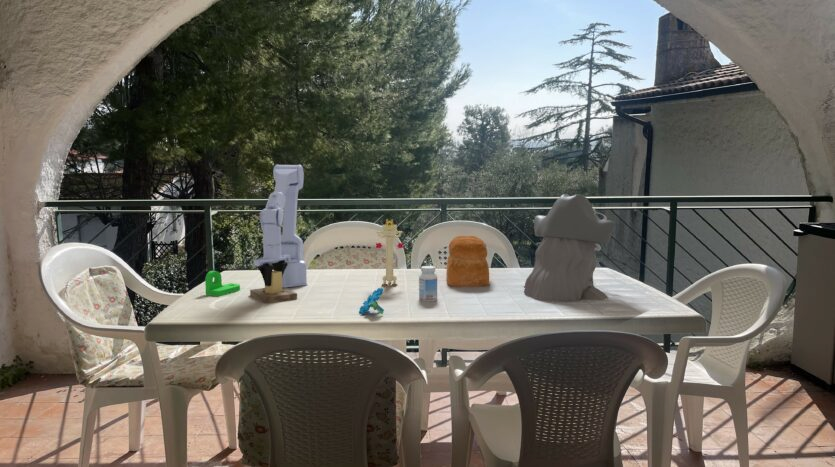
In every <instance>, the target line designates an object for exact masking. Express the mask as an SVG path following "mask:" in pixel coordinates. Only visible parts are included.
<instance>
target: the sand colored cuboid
mask: <svg viewBox="0 0 835 467" xmlns="http://www.w3.org/2000/svg"><path fill="white" fill-rule="evenodd" d="M264 288H265V293H269V294H274V293H281V292H282V272H280V271H274V269H273V270H272V275H271V286H265V285H264Z"/></svg>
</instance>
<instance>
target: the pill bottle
mask: <svg viewBox="0 0 835 467" xmlns="http://www.w3.org/2000/svg"><path fill="white" fill-rule="evenodd" d="M420 271H421V273H420V274H419V275H418V288H419V289H418V299H419V301H423V302H434V301H437V300H438V275H437V273H435V272H436V267H435V266H434V265H423V266H421V268H420Z"/></svg>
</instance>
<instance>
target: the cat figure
mask: <svg viewBox="0 0 835 467" xmlns="http://www.w3.org/2000/svg"><path fill="white" fill-rule="evenodd" d="M382 223H383V224H382V226H381V228H382V229H381V230H376V233H377V234H378V237H379V238H381V239H383V238H385V245H383V244H382V242H376V243H375V248H377V249H382V248H383V247H385V274H384V275H383V276H382V281H383V282H382V283H381V286H382V287H387V286H388V284H391V286H392V287H396V286H398V283H397V275H396V274H394V247H397V249H403V248H404V243H402V242H398V244H397V245H394V239H398V238H400V237H401V236H402V234H403V231H402V230H398V227H397V226H398V225H397V222H396V221H395V220H394V219H391V220H389V219H385V220H384V221H383V222H382ZM387 282H388V283H387ZM392 282H393V283H392Z"/></svg>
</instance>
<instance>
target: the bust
mask: <svg viewBox="0 0 835 467" xmlns="http://www.w3.org/2000/svg"><path fill="white" fill-rule="evenodd" d="M596 209H597V207H595V208H593V206H592V204H591V202H590V200H589V199H588V198H587V197H586V196H585V195H583V194H580V193H578V194H574V195H571V196H570V195H569V194H567V193H564V194H562V195H560V196H559V197H558V198H557V199H556V201H554V203H553V205H552V206H551V208H550V209H549V212H548V213H547V214H546V215H540V214H538V215H535V216H534V220H533V228H534V236H535V237H542V240H541V242H540V244H539V245H538V247H537V248H536V249H535V253H534V254H535V262H534V265H533V266H534V267H533V269H532V271H531V272H530V274H529V275H528V276H527V278H526V279H525V283H524V285H523V286H522V288H523V287H524V288H525V289H524V288H523V289H524V291H523V293H524V295H525V296H527V297H530V298H531V299H533V300H535V301H542V302H561V303H569V302H570V303H571V302H572V303H573V302H580V301H581V300H582V299H583V300H589V301H602V300H607V299H609V296H608V295H606V294H605V293H604V292H603V291H602V290H600V289H599V288H597V287H596V286H595V285H594V272H595V270H596V265H597V260H596V251H599V252H600V251H601V249H602V246H601V245H600V244H599V243H602V244H609V243H610V242H611V238H612V233H613V232H614V229H615V226H616V225H615V224H616V223H615V222H614V221H613V220H609V219H607V218H608V217H607V216H606V215H605V214H603V213H600V212H598V211H596ZM597 214H598V215H602V216H603V219H600V218H599V216H598V215H597Z"/></svg>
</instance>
